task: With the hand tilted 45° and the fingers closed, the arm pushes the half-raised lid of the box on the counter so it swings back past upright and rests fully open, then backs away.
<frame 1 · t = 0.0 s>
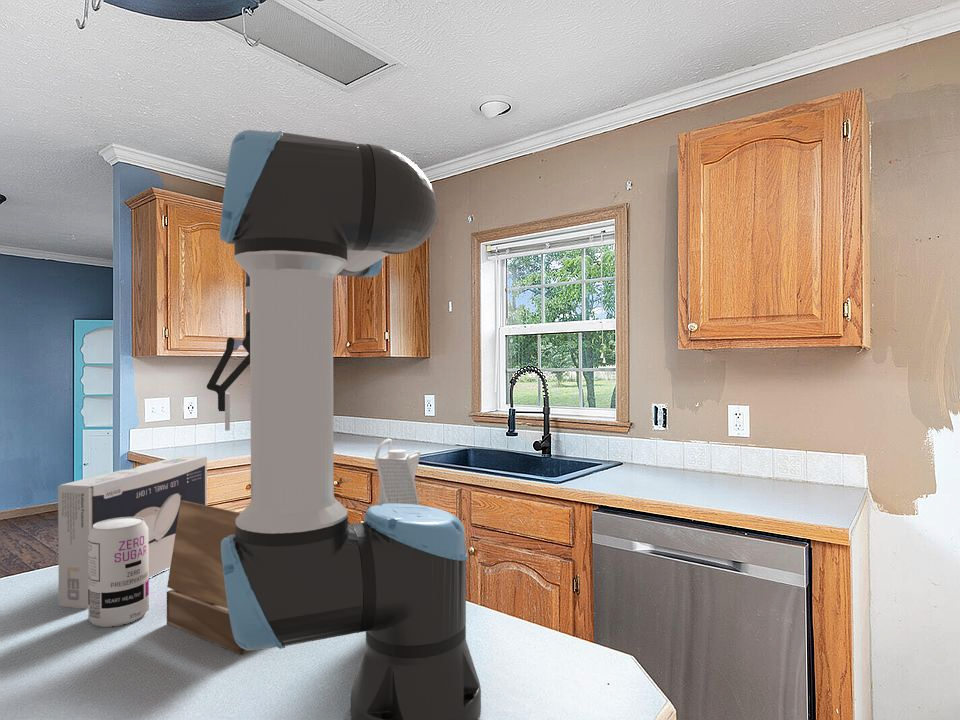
hand: (267, 428, 111), 28 cm above the countertop, tool pointing down, fingers open, 13 cm apart
orange juice: (283, 567, 119), on the countertop
supplement can: (119, 618, 96), on the countertop
lid: (209, 552, 90), point 12 cm above the countertop, hinge at -10.0°
packaging: (142, 575, 115), on the countertop
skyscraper: (396, 621, 95), on the countertop
box: (243, 620, 95), on the countertop
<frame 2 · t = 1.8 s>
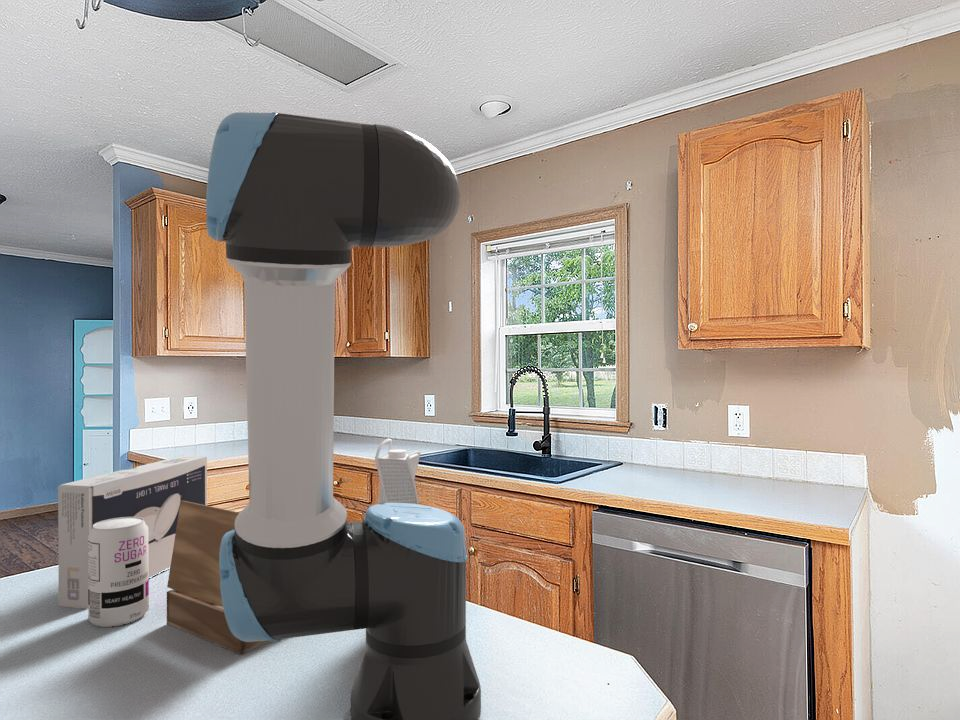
hand: (291, 420, 103), 30 cm above the countertop, tool pointing down, fingers closed
nothing on the countertop moved.
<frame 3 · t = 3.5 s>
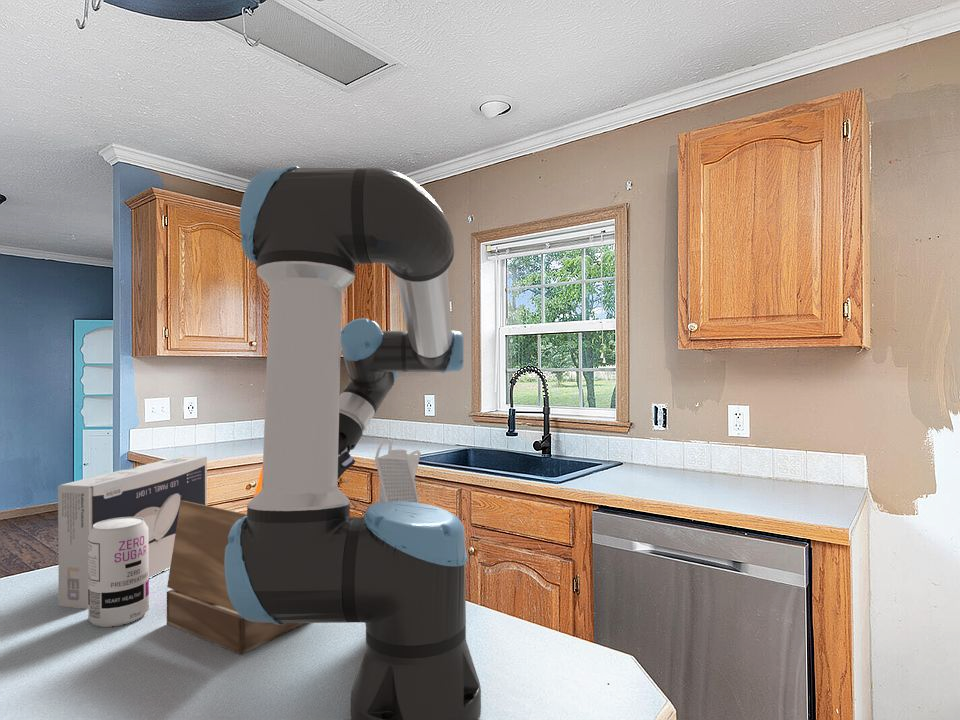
hand: (274, 535, 100), 12 cm above the countertop, tool tilted 45°, fingers closed
nothing on the countertop moved.
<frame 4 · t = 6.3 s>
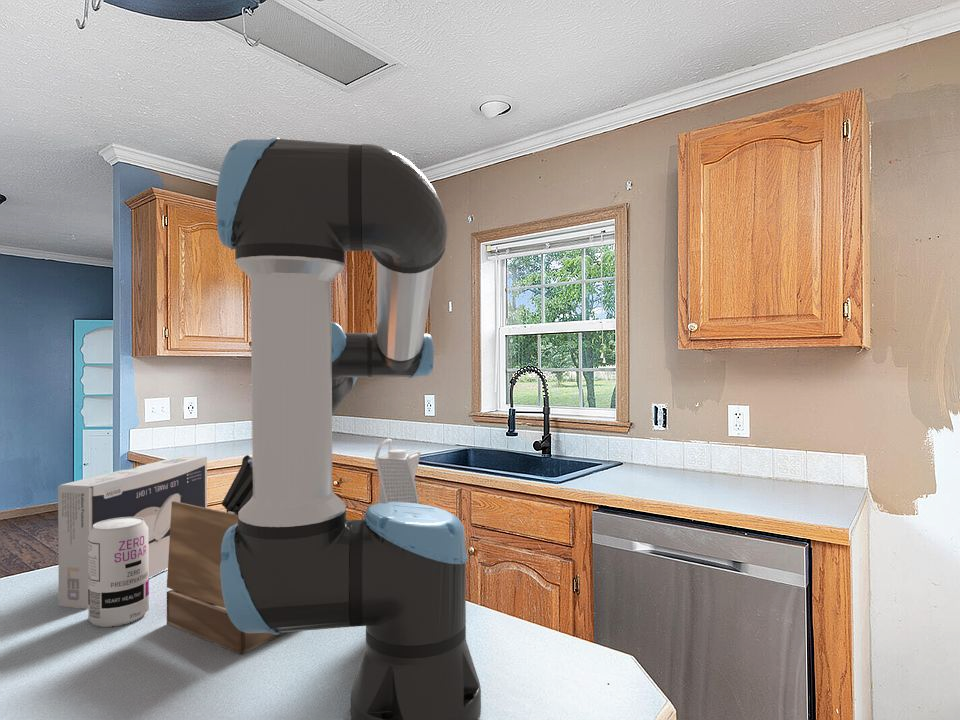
hand: (210, 554, 91), 12 cm above the countertop, tool tilted 45°, fingers closed
lid: (204, 553, 89), point 12 cm above the countertop, hinge at -3.7°, touching gripper
everything else where it was.
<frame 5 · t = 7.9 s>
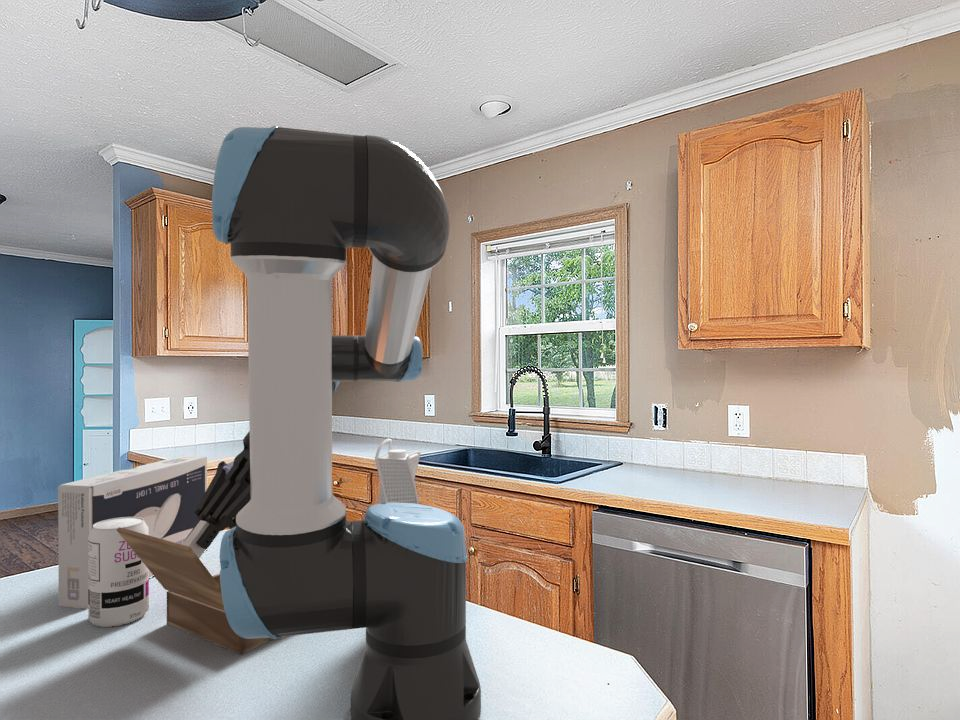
hand: (180, 565, 86), 12 cm above the countertop, tool tilted 45°, fingers closed
lid: (176, 570, 86), point 11 cm above the countertop, hinge at 33.2°, touching gripper
everything else where it was.
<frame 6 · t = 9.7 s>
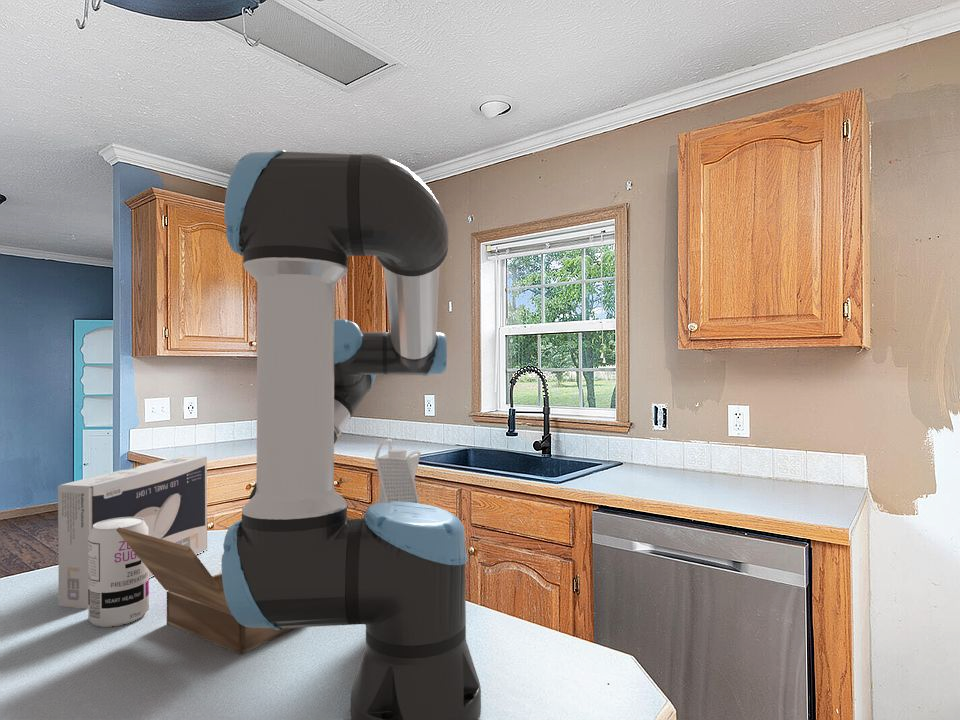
hand: (240, 545, 95), 12 cm above the countertop, tool tilted 45°, fingers closed
lid: (176, 570, 86), point 11 cm above the countertop, hinge at 33.4°
everything else where it was.
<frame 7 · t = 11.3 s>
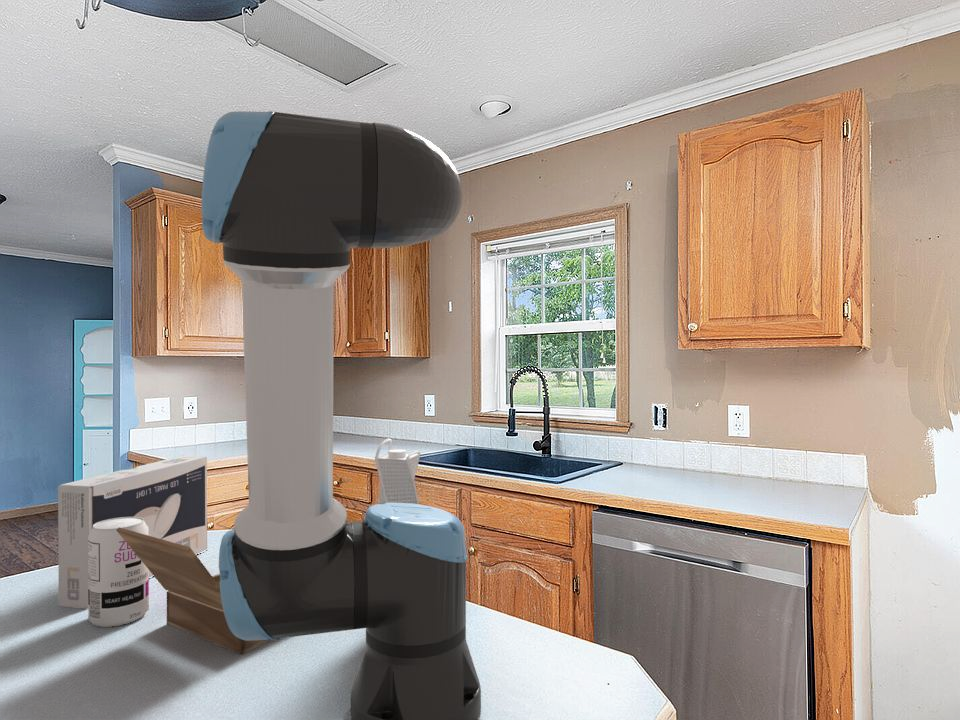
hand: (302, 418, 104), 31 cm above the countertop, tool pointing down, fingers closed
nothing on the countertop moved.
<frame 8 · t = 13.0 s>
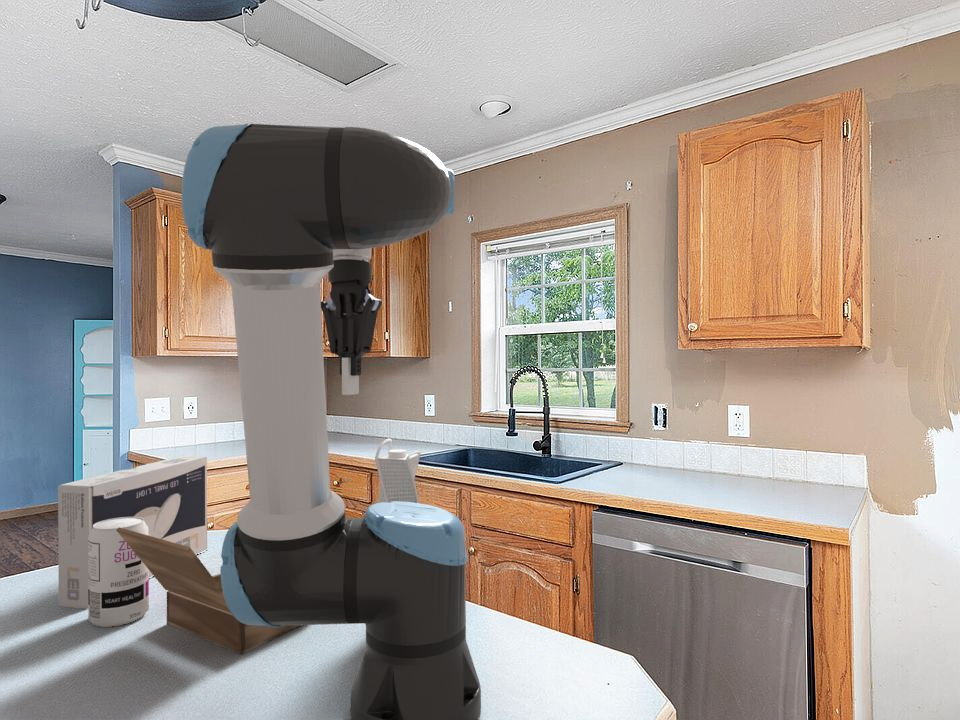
hand: (350, 394, 108), 34 cm above the countertop, tool pointing down, fingers closed
nothing on the countertop moved.
at the end: lid at +33° (first picture: -10°) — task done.
